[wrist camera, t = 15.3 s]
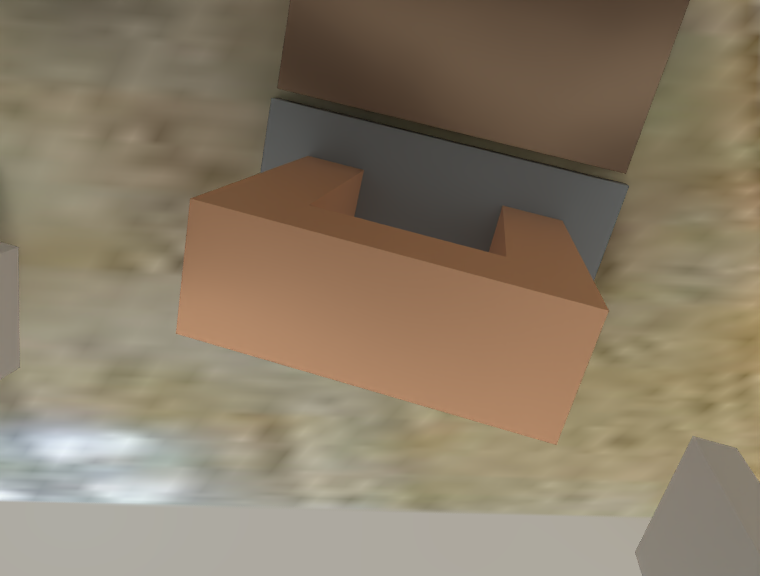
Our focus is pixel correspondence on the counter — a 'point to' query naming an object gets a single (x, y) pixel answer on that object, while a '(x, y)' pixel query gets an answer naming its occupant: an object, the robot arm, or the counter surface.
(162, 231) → the counter surface
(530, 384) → the orange notched block
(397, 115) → the hook stand
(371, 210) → the mat
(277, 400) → the counter surface
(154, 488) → the counter surface
